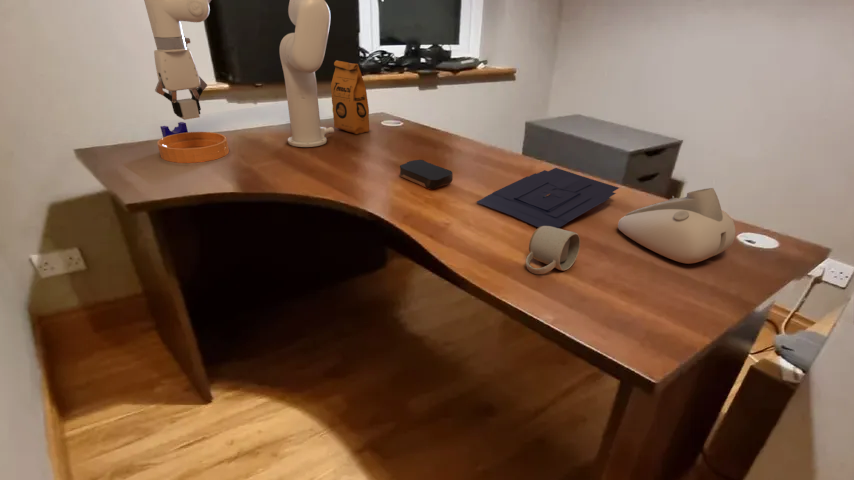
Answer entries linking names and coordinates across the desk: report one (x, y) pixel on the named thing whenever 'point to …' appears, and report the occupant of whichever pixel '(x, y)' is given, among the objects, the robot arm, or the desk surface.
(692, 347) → the desk surface
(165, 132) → the cable holder
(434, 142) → the desk surface
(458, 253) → the desk surface
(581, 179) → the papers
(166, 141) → the bowl
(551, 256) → the ceramic mug
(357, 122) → the coffee package
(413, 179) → the black sponge
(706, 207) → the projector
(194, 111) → the block
